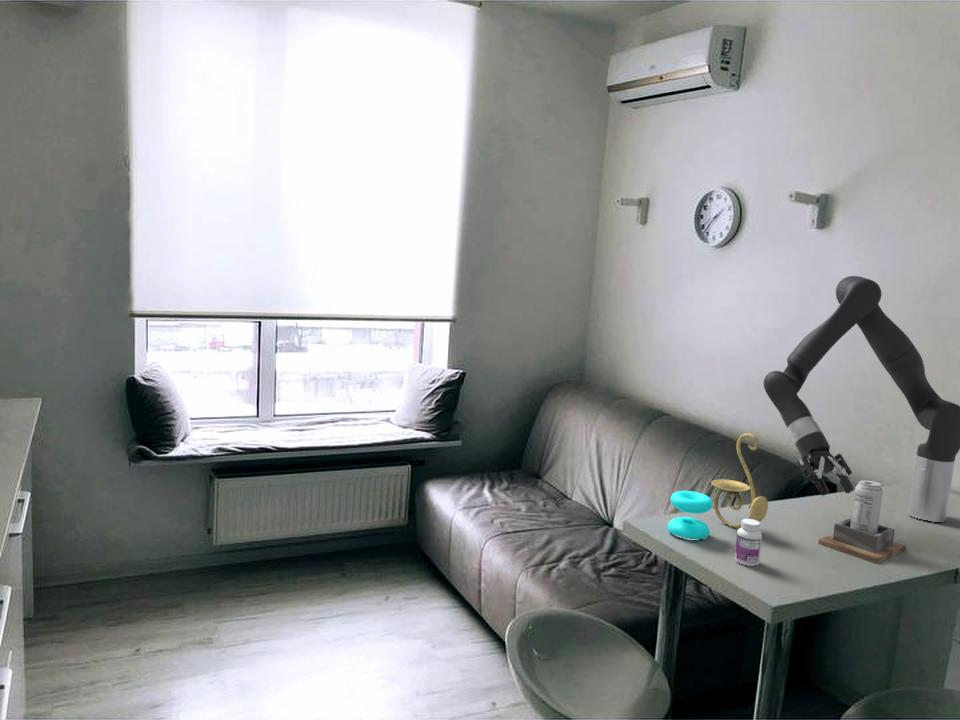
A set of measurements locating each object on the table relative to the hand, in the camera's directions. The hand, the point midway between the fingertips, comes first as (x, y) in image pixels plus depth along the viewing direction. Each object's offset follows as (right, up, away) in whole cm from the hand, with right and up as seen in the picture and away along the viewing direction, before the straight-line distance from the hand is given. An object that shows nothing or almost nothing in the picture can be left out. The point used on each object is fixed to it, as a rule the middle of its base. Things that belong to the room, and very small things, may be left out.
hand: (838, 493), depth 202 cm
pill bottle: (-30, -12, -21) cm, 39 cm away
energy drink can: (+3, -11, -6) cm, 13 cm away
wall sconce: (-26, -9, +2) cm, 28 cm away
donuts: (-39, -10, -5) cm, 41 cm away
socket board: (+3, -12, -6) cm, 14 cm away
